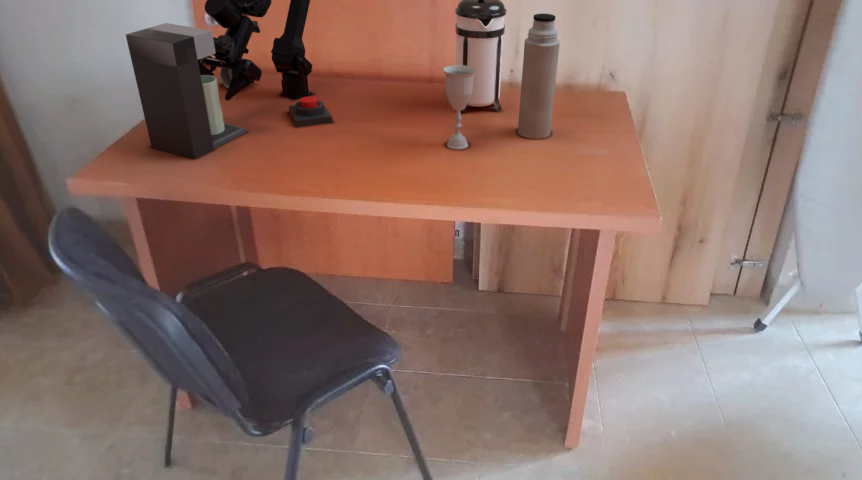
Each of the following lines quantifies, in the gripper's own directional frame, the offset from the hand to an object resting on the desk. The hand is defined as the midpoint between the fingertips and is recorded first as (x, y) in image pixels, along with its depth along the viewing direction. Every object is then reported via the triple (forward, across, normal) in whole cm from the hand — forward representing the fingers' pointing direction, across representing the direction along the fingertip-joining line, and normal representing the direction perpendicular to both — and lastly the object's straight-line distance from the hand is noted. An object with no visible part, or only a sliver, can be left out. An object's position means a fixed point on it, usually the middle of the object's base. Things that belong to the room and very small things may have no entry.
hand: (211, 96), depth 167 cm
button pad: (-7, +14, +20) cm, 25 cm away
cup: (+7, 0, +4) cm, 8 cm away
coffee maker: (+10, 0, +2) cm, 11 cm away
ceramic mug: (-14, -20, +27) cm, 36 cm away
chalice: (-9, +56, +22) cm, 60 cm away
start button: (-9, +14, +17) cm, 24 cm away
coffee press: (-28, +47, +41) cm, 68 cm away
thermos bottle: (-20, +68, +33) cm, 79 cm away
